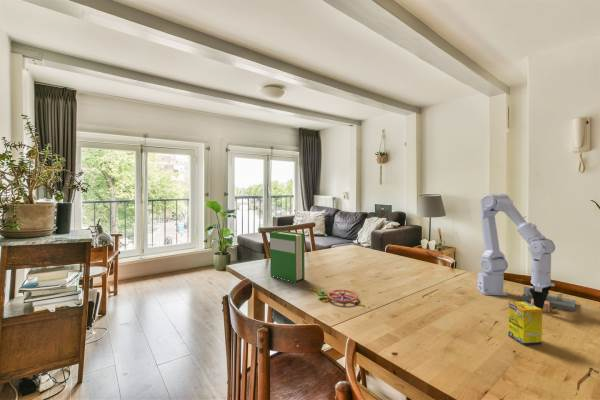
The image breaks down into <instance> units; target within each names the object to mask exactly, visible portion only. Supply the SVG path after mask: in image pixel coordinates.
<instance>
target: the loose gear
mask: <svg viewBox="0 0 600 400" xmlns="http://www.w3.org/2000/svg"><path fill="white" fill-rule="evenodd" d="M530 304H531V305H534V300H533V299H531V302H530ZM534 306H535V305H534ZM550 308H551V306H550V302H548V301H545V302H544V306H543V309H542V313H545V312H547V313H550V311H551V309H550Z"/></svg>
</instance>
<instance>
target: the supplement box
mask: <svg viewBox="0 0 600 400" xmlns="http://www.w3.org/2000/svg"><path fill="white" fill-rule="evenodd" d="M507 325H508V329H507V330H508V331H507V333H508V334H507V336H508V337H510V338H512V339H514V340H515V341H516V342H518V343H519V344H520V345H522V346H538V345H542V339H543V338H542V336H543V334H542V333H543V332H542V331H543V312H542V309H541V308H538V307H536V306H534V305H531V303H530V302H528V301H510V302H508V324H507Z"/></svg>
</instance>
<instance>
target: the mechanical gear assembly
mask: <svg viewBox="0 0 600 400" xmlns="http://www.w3.org/2000/svg"><path fill="white" fill-rule="evenodd" d="M309 289H310V291H312V290H313V291H312V292H315V291H316V292H315V293H317V294H316V295H317V296H318V297H322V298H324V299H322V303H324V302H325V303H328V302H330V301H333V302H337V303H350V304H354V305H356V306H360V307H364V308H365V307H366V305H365V304H362V303H360V301H359V300H358V299H359V295H358V293H356V292H355V291H352V290H347V289H333V290H330V291H324V289H321V291H320V290H316V289H313V288H309V287H308V288H307V290H309ZM351 296H355V297H351ZM325 297H326V298H325ZM334 298H335V299H334ZM357 300H358V301H357Z"/></svg>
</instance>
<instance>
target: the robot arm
mask: <svg viewBox="0 0 600 400" xmlns="http://www.w3.org/2000/svg"><path fill="white" fill-rule="evenodd" d="M499 212H501V213H504V214H505V215H506V216H507V217H508V218H509V219H510V220H511V221H512V222H513V223H514V224H515V225H516V226H517V232H518V233H519V235H520V236H521V237H522V239H523V240H524V241H525V242H526V243H527V244H528V246H527V248H528V251H529V253H530V254H531V256H530V257H531V273H530V274H531V275H530V276H531V277H530V279H531V280H530V284H532V285H533V286H534V288H535V289H534V288H530V289H529V290H530V292H531V294H532V297H533V300H534V305H535V306H536V307H538V308H541V309H543V306H544V302H545V301H546V298H547V295H550V292H549V291H550V290H551V288H552V287H555V283H553V282H551V275H552V274H551V273H552V270H551V269H552V254H553V253H554V252H555V251H556V245H555V243H554V241H553V240H552V239H550V238H547V237H546V236H545V235H543V234H542V233H541V232H540V231H539V229H537V225H536V224H533V223H532V222H527V221H526V220H525V218H524V216H522V213H520V211H519V210H518V209H517V207H516V206H515V205H514V202H513V199H511V197H510V196H509V195H507V194H505V193H499V194H498V193H497V194H495V193H492V194H491V193H488V194H485V195H483V197H482V198H481V199H480V210H479V216H480V223H481V230H482V231H481V232H482V237H483V244H484V246H483V247H484V252H483V253H482V254H481V256H480V257H481V260H480V264H479V266H480V268H481V270H482V271H483V272H478V273H477V283H476V284H477V287H476V289H477V290H478V291H479V292H480V293H481V294H483V295H487V296H503V297H504V296H508V294H507V293H506V292H505V291H504V278H505V276H504V274H505V271H506V270H508V267H509V263H508V261H507V259H506V257H505V254H504V253H503V252H502V251H501V250H500V244H499V237H498V230H497V224H496V223H497V222H496V218H495V217H496V216H497V214H498V213H499Z"/></svg>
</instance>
